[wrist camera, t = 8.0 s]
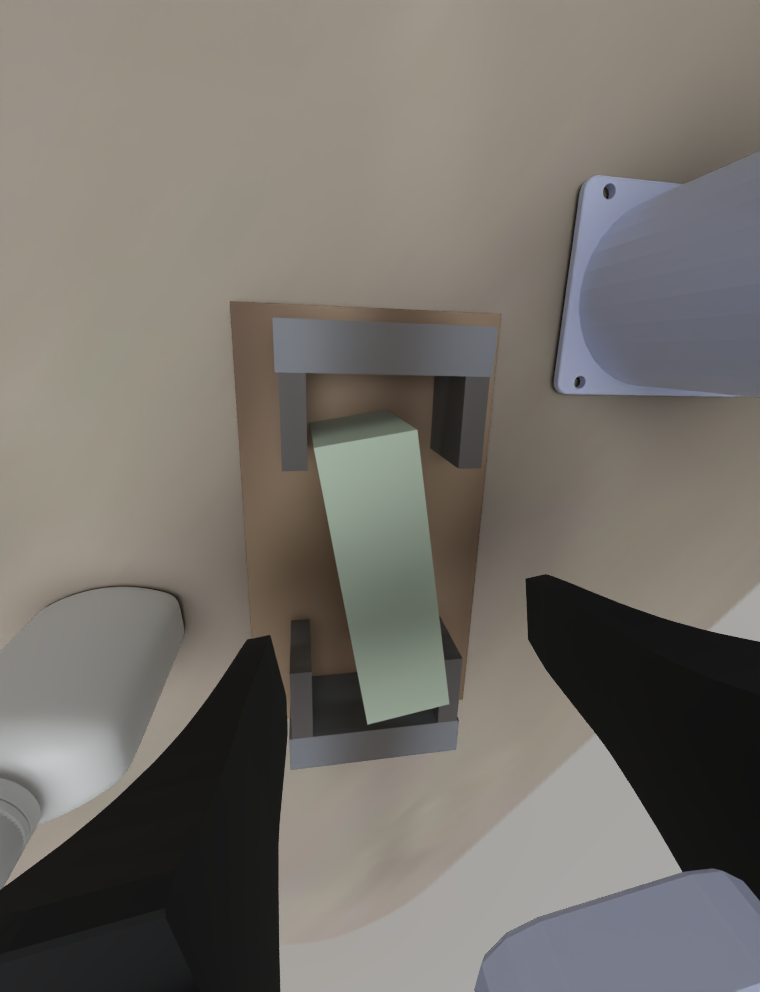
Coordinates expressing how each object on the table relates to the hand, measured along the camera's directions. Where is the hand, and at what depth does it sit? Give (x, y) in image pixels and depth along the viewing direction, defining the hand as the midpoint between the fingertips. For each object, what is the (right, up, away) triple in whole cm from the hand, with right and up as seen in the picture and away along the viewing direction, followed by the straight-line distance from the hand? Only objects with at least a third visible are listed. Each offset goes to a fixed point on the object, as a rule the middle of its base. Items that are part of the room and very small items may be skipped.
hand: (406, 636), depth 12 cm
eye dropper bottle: (-12, -1, +7) cm, 14 cm away
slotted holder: (-1, +2, +8) cm, 8 cm away
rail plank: (-1, +2, +7) cm, 7 cm away
